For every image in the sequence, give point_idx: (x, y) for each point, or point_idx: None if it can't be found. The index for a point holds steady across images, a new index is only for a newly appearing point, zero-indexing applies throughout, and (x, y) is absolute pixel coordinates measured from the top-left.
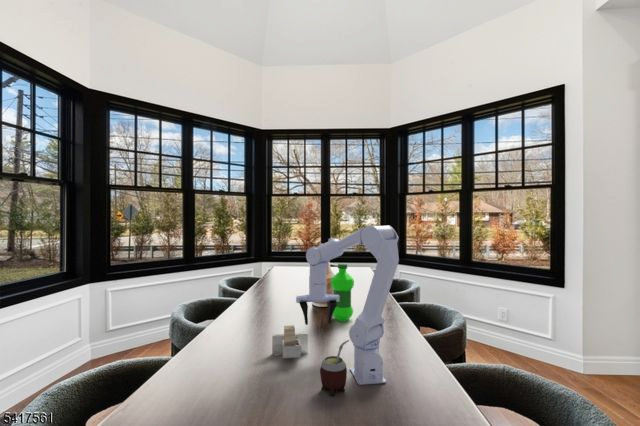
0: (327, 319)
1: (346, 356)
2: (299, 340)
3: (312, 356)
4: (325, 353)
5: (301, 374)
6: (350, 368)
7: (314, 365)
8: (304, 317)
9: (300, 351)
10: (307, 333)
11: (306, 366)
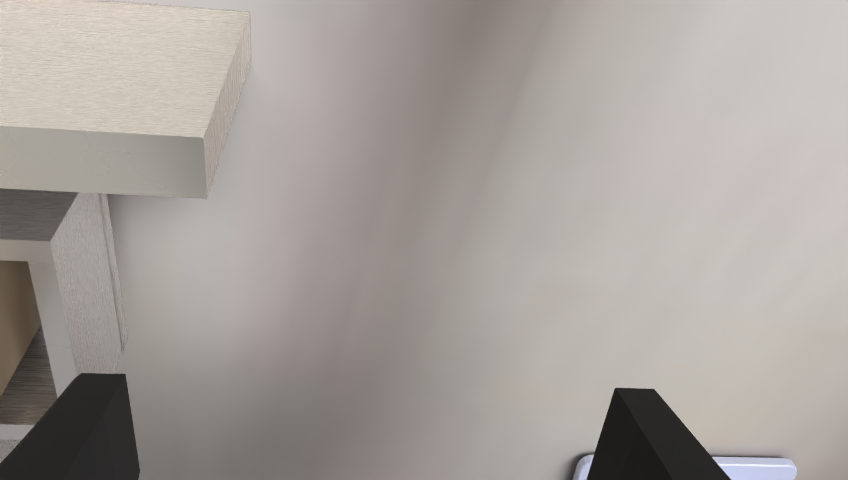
0: (625, 452)
1: (686, 232)
2: (58, 296)
3: (298, 160)
4: (482, 113)
5: (147, 455)
6: (580, 476)
7: (286, 345)
8: (12, 475)
9: None
10: (195, 180)
11: (202, 350)
